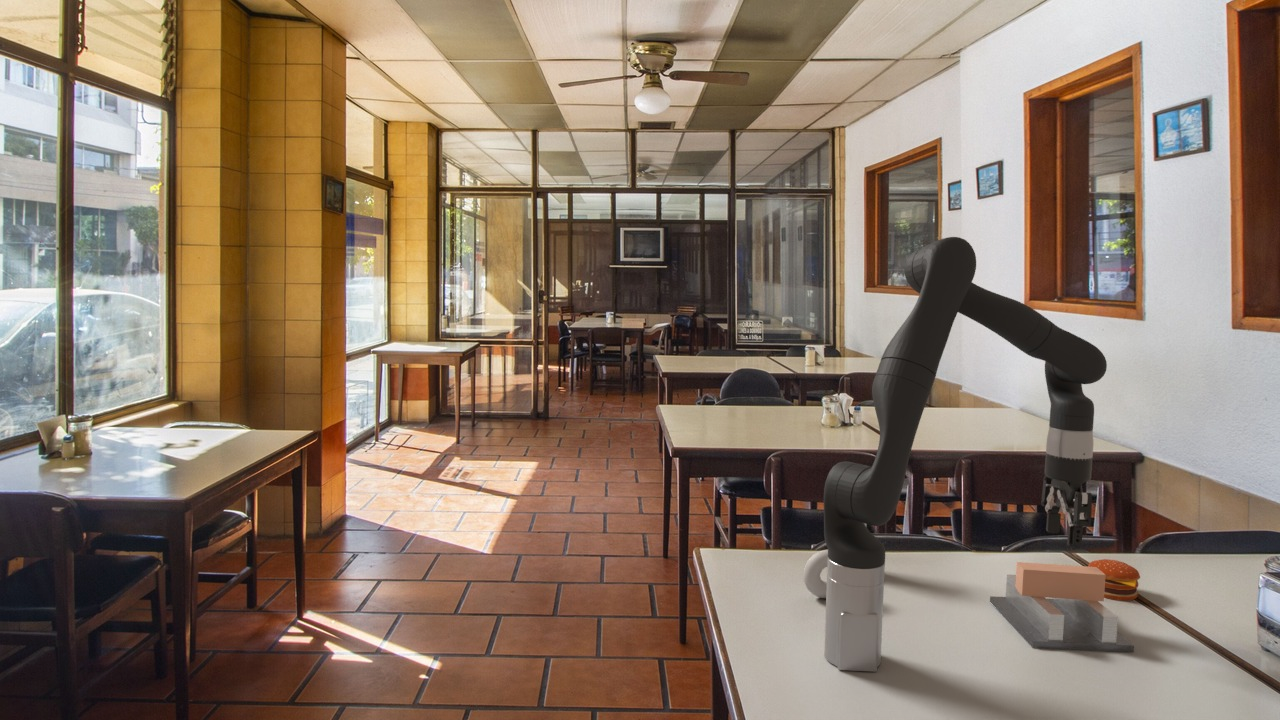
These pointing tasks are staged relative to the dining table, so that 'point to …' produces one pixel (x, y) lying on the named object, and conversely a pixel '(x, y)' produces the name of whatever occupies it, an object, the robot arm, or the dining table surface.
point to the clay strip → (1060, 581)
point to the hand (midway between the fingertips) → (1063, 539)
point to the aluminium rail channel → (1061, 622)
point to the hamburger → (1118, 579)
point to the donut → (816, 573)
